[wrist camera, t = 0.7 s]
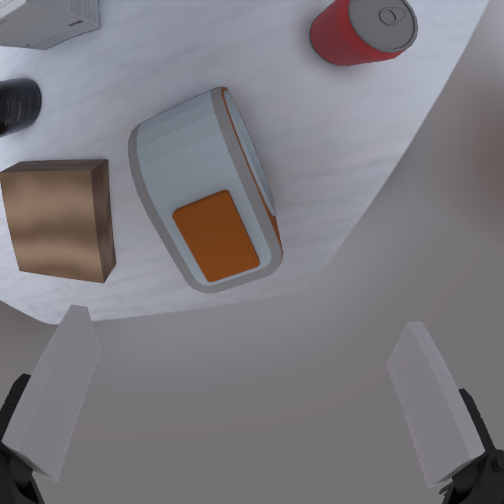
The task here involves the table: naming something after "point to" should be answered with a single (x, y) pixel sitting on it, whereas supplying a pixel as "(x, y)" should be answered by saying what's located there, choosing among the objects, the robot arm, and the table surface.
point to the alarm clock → (207, 192)
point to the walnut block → (60, 218)
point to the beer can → (364, 31)
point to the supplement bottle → (17, 105)
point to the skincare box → (45, 21)
